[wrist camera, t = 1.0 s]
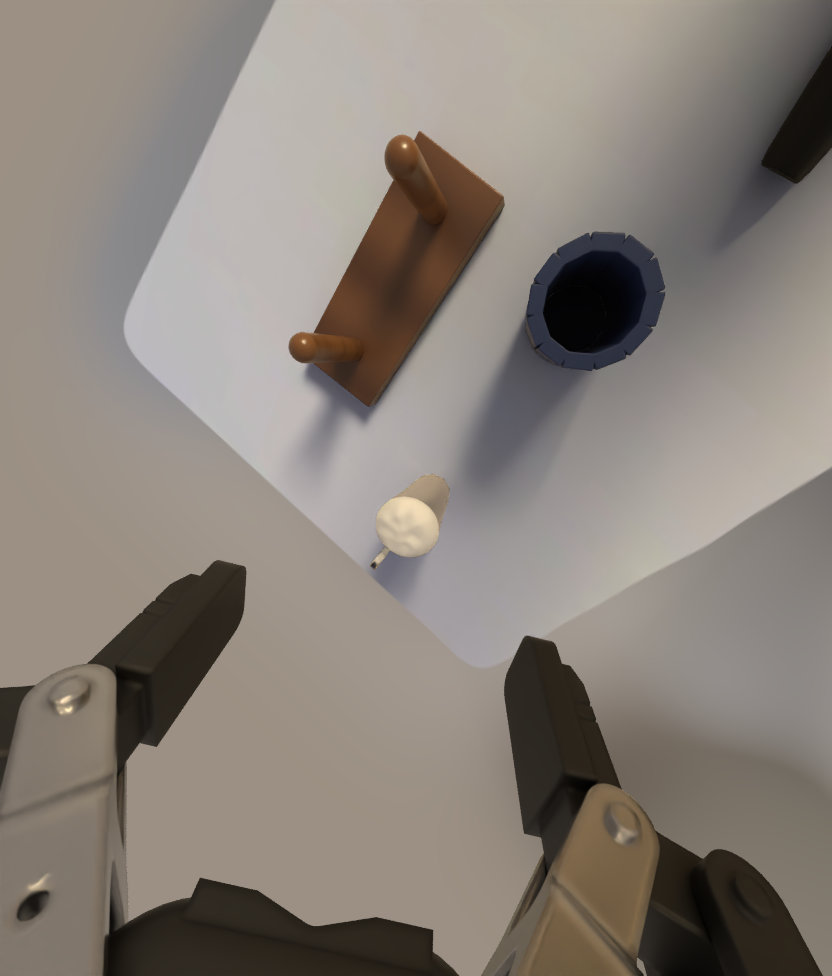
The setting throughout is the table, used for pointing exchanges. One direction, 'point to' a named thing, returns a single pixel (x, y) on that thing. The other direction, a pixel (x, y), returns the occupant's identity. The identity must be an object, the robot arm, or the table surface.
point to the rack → (400, 267)
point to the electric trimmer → (805, 129)
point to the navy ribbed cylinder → (612, 276)
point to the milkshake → (412, 518)
